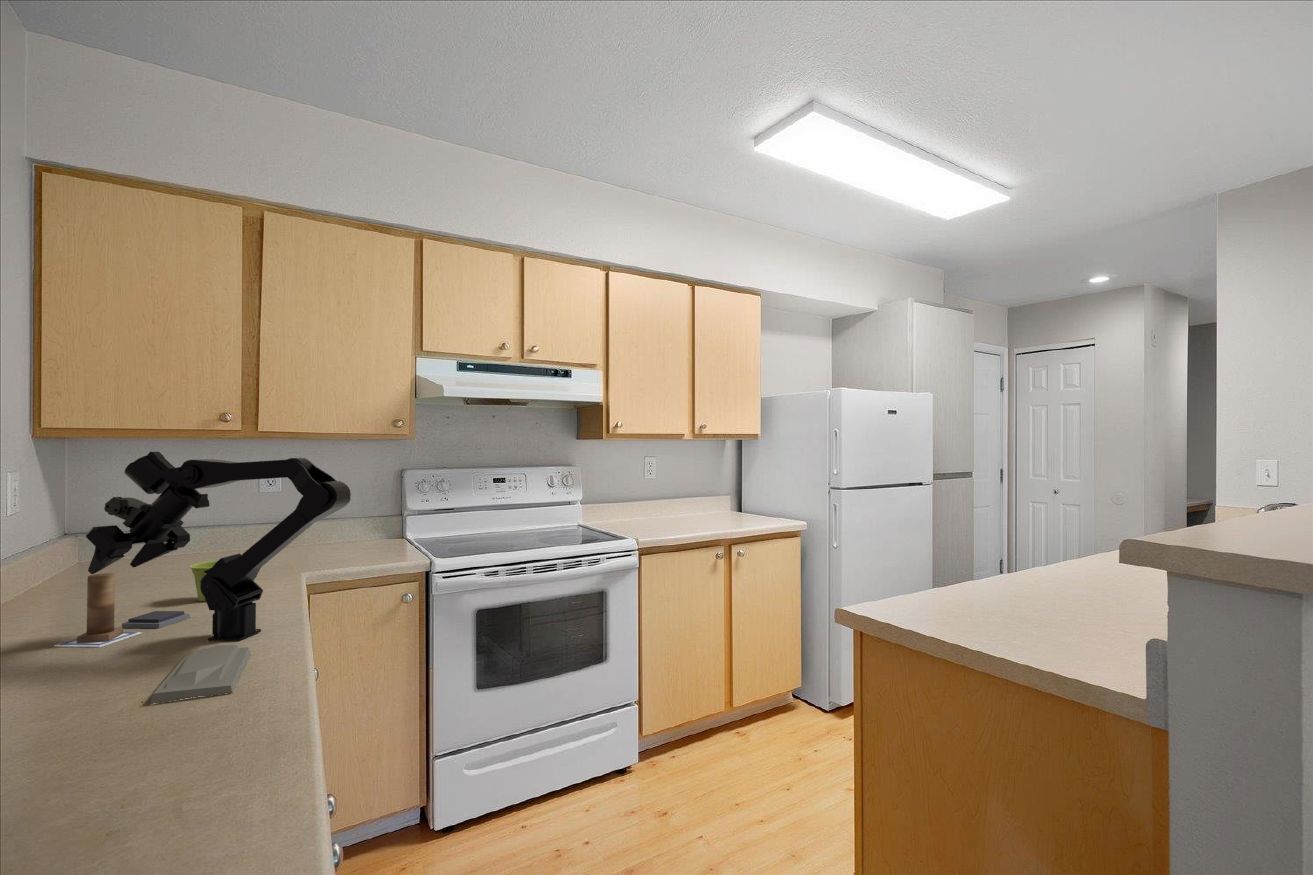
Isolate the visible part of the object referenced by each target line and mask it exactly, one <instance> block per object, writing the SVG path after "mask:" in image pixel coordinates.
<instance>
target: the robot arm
mask: <svg viewBox="0 0 1313 875" xmlns="http://www.w3.org/2000/svg"><path fill="white" fill-rule="evenodd" d="M123 472H124V474H125V476H126V477H128V478H129V479H130V480H131V481H132V482H133V483H134V484H135V485H137V486H138V487H139V488H140V489H141V490H142V491H143V492H144V493H145V494H147V495H154V494H156V495H159V496H157V498H155V500H153V502H152V503H150V504H149V503H147V502H145V501H142V500H140V499H138V498H134V497H122V496H113V497H112V498H110V499H109V500H107V501H106V502H105V504H104V508H103V509H104V510H103V511H104V512H106V513H107V514H108V515H109V516H114V517H116V518H118V519H122V520H124V521H123V522H122V524H123V525H124V526H125V527H126V528H128V529H129V530H128V531H129V532H124V531H123V530H122V529H121V528H120V527H119V526H118V525H103V526H101V525H99V526H93V527H92V528H90V530H89V531H88V532H87V533H86V534H85V538H86V539H87V540H88V541H89V542H90V543H91V544H92V545H93V546H94V548H95V549H94V552H93V555H92V557H91V558H92V559H91V561H90V564H89V566H88V569H87V570H88V573H89V574H90V575H95V574H97V573H98V572H100V571H102V570H103V569H105V568H107V567H108V566H110V565H112V564H114V563H116V562H118V561H119V560H121V559H122V558H125V554H127V553H129V551H131V550H132V548H133V546H135V545H140V544H141V545H142V544H144V545H143V546H142V547H141V548H140V549H139V551H138V552H137V553H136V555H135V556H134V557H133V559H132V560H131V562H130V563H129V565H130V567H132V568H133V569H134V568H137V567H139V566H141V565H144V564H146V563H149V562H150V561H152V560H155V559H157V558H160V557H162V556H164V555H166V554H169V553H171V552H175V551H177V550H178V549H181V548H185V547H186V545H188V543H190V541H191V534H190V533H189V532H188V531H187V530H186V529H185V528H184V527H183V524H184V521H183V520H182V519H184V517H185V516H186V515H187V514H188V513H189V512H190V511H191V510H192V509H193V508H195V509H203V508H209V507H210V501H209V498H208V497H209V494H208V493H201V492H199V491H198V490H197V489H208V488H217V487H221V486H225V485H229V484H233V483H235V482H238V481H239V482H240V481H250V480H251V481H252V480H253V481H254V480H265V479H267V480H268V479H283V478H284V479H285V478H287V479H289V480H290V481H291V482H292V484H293V485H294V487H295V489H296V491H297V492H299V494H301V497H300V499H299V502H298V504H296V507H295V509H294V510H293V511H292V512H291V513H289V514H288V516H286V517H285V518H284V519H282V520H281V521H280V522H279V523H278V524H277V525H276V526H274V527H273V528H272V529H271V530H270V531H268V532H267V533H266V534H265V535H264V536H262V537H261V538H260V539H259V540H258V541H257V542H255V543H254V544H252V546H250V547H249V548H248V549H247V550H246V551H244V552H243V553H242V554H241V553H240V552H239V553H236V554H231V555H229V556H228V555H227V556H224V557H220V559H218V560H217V562H216V563H215V565H214V566H213V567H212V568H210V569H209V570H206V571H204V573H206V575H204V576H203V578H202V579H201V581H200V583H201V585H200V588H201V592H202V594H203V596H204V597H205V600H206V605H207V607H208V610H209V611H214V613H213V614H212V621H211V622H212V631H211V632H212V636H209V637H207V640H208V641H231V642H232V641H233V642H234V641H242V640H244V639H246V638H248V637H250V636H254V635H256V634H258V633H260V632H262V629H261V628H257V627H256V626H257V623H256V622H257V621H256V620H257V614H256V613H257V602H256V601H259V600H260V599H261V598H262V594H263V593H264V590H263V589H262V587H261V586H259V584H257V582H255V579H256V578H257V577H258V574H259V572H260V570H261V569H262V568H263V566H265V565H266V564H267V563H268V562H269V561H270V560H271V559H273V558H274V557H275V556H276V555H277V554H279V553H280V552H282V550H284V549H285V548H286V547H287V546H288V545H290V544H291V543H292V542H294V540H296V539H297V538H299V536H300V535H302V534H303V533H304V532H305V531H306V530H308V529H309V528H310V527H311V526H312V525H314V524H315V523H316V522H318V521H320V520H322V519H324V518H326V517H328V516H330V515H333V514H334V513H337V512H338V511H339V510H342V509H343V508H345V507H346V506H347V505H349V503H350V501H351V496H352V494H351V489H350V487H349V486H348V485H347V484H346V483H345V482H343V481H341V480H340V481H338V480H337V479H335V478H334V477H333V476H332V475H330V474H329V473H327V472H326V471H324V470H322V469H321V468H319V467H317V466H316V465H315V464H314V463H313V462H311V461H310V460H309V459H308V458H305V457H290V458H287V459H273V460H262V461H261V460H259V461H243V462H238V461H237V462H236V461H232V460H231V461H230V460H225V459H224V460H222V459H214V458H211V459H210V458H209V459H208V458H206V459H202V458H201V459H187V460H186V461H183V463H182V464H181V465H180V466H178V467H175V466H174V465H173V464H172V463H170V461H168V460H167V459H166V458H165V456H164V455H163V454H162V453H161V452H160V451H149V452H148V453H147V454H146V455H143V456H141V457H138V458H137V459H135V460H134V461H132V462H130V463H129V464H128V465H126V467H125V469H124V470H123Z"/></svg>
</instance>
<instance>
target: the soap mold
mask: <svg viewBox="0 0 1313 875" xmlns="http://www.w3.org/2000/svg"><path fill="white" fill-rule="evenodd" d="M251 656H252V653H251V650H250V647H249V646H244V647H239V646H238V644H227V645H226V644H225V645H222V644H221V645H214V646H210V647H208V648H204V649H202V650H199V651H196V652H191V653H190V652H189V653H186V655H185V656H184V657H183V658H182V659H181V661H180V662H179V663H178V664H177V665H176V667H174V669H173V670H172V671H171V672H170V674H169V675H168V676H167V677H166V678H165V679H164V681H163V682H162V683H161V684H160V685H159V687H157V689H156V690H155V691H154V692H153V693H152V697H151V699H150V702H149V705H150V704H153V703H161V704H163V703H162V702H168V703H170V702H169V701H174V700H180V699H185V698H191V697H192V698H193V697H198V696H210V697H212V696H211V695H218V694H225V693H232V692H233V693H234V691H235V689H236V687H237V685H238V683H239V681H240V679H241V677H240V676H242V675H243V673H242V672H244V671H243V670H245V668H246V667H247V664H248V662H249V659H251V658H250V657H251ZM247 661H248V662H247ZM239 678H240V679H239ZM237 682H238V683H237ZM236 684H237V685H236ZM235 686H236V687H235ZM233 690H234V691H233ZM233 693H232V694H233ZM225 695H226V694H225ZM218 696H219V695H218Z"/></svg>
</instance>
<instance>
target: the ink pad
mask: <svg viewBox="0 0 1313 875" xmlns="http://www.w3.org/2000/svg"><path fill="white" fill-rule="evenodd" d="M190 616H191V614H190V613H185V611H183V610H153V611H151V612H147V613H143V614H140V615H138V616H134V617H132V618H131V617H129V618H128V620H127V621H125V622H122V623H121V627H123V629H124V628H125V629H129V628H130V629H160V628H164V627H167V626H169V625H173V624H175V623H178V622H181V621H184V620H187V619H190V618H191V617H190Z"/></svg>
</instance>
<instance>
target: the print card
mask: <svg viewBox="0 0 1313 875" xmlns="http://www.w3.org/2000/svg"><path fill="white" fill-rule="evenodd" d="M140 634H143V632H141V631H123V634H122V635H120V636H118V637H116V638H114V639H112V640H109V641H106V642H92V643H77V638H74V639H71V640H67V641H64V642H61V643H58V644H55V645H53V647H55V648H56V647H57V648H61V647H62V648H101V647H105V646H108V645H110V644H111V645H112V644H114V643H117V642H120V641H122V640H126V639H128V638H132V637H134V636H137V635H140Z"/></svg>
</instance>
